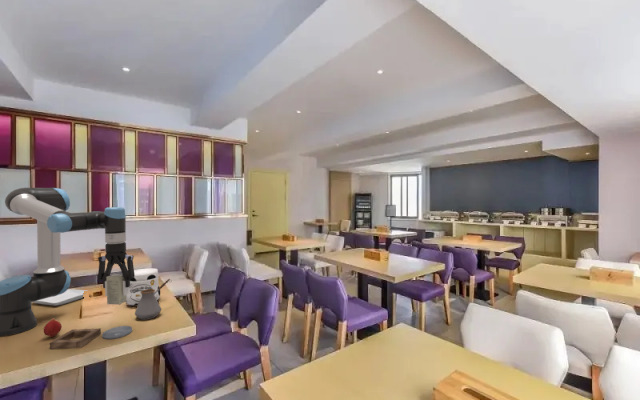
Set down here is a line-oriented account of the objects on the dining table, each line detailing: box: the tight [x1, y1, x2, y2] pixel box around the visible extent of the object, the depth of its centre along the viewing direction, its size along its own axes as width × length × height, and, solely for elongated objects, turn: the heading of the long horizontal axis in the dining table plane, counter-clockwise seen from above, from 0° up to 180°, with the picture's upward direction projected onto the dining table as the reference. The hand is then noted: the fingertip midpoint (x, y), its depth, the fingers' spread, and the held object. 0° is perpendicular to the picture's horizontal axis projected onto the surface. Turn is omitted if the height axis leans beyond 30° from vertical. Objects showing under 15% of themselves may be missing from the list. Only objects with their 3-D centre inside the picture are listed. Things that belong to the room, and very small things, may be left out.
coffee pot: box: [134, 278, 172, 321], centre depth 158 cm, size 21×12×15 cm, turn 166°
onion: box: [43, 318, 63, 338], centre depth 131 cm, size 6×6×8 cm
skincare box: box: [106, 273, 127, 305], centre depth 134 cm, size 6×4×12 cm
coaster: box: [101, 325, 133, 340], centre depth 134 cm, size 11×11×1 cm
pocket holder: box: [48, 328, 102, 350], centre depth 127 cm, size 12×12×2 cm
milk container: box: [125, 267, 161, 307], centre depth 172 cm, size 17×17×18 cm
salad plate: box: [32, 288, 87, 307], centre depth 179 cm, size 21×21×3 cm
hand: (116, 294), depth 134 cm, fingers closed on skincare box, 7 cm apart
